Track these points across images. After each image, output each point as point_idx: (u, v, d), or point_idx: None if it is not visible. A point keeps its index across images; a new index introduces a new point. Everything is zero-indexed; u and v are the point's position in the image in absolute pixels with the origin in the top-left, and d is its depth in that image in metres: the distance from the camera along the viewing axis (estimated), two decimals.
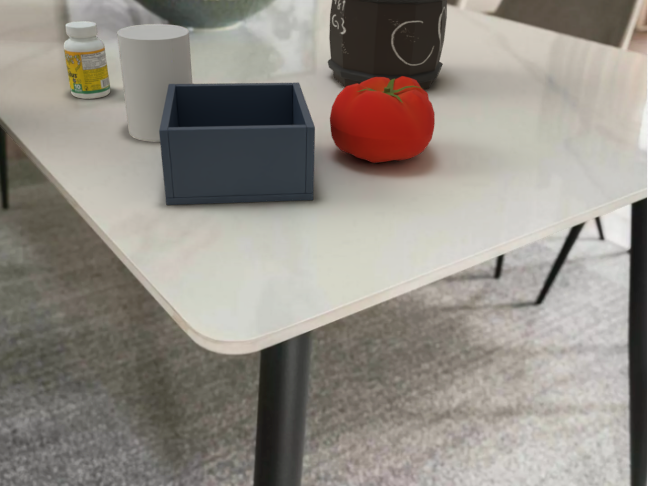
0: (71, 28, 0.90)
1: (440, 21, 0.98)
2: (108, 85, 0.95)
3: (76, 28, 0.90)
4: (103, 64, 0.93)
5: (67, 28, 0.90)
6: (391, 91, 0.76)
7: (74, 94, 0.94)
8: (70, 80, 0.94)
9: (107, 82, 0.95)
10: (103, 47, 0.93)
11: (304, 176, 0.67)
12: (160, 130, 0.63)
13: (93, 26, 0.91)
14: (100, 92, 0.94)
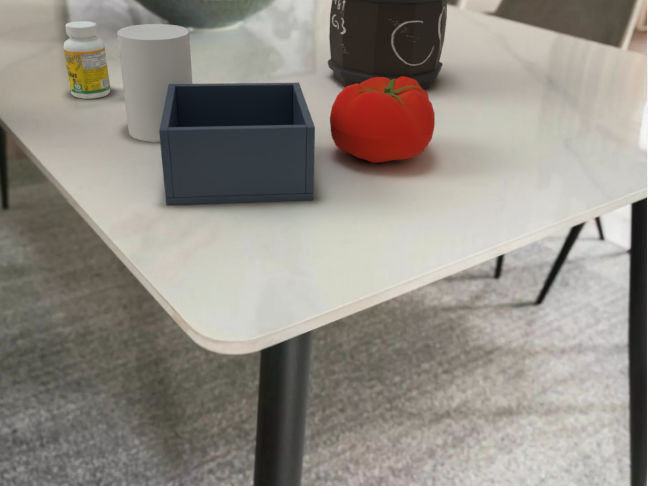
0: (71, 28, 0.90)
1: (440, 21, 0.98)
2: (108, 85, 0.95)
3: (76, 28, 0.90)
4: (103, 64, 0.93)
5: (67, 28, 0.90)
6: (391, 91, 0.76)
7: (74, 94, 0.94)
8: (70, 80, 0.94)
9: (107, 82, 0.95)
10: (103, 47, 0.93)
11: (304, 176, 0.67)
12: (160, 130, 0.63)
13: (93, 26, 0.91)
14: (100, 92, 0.94)
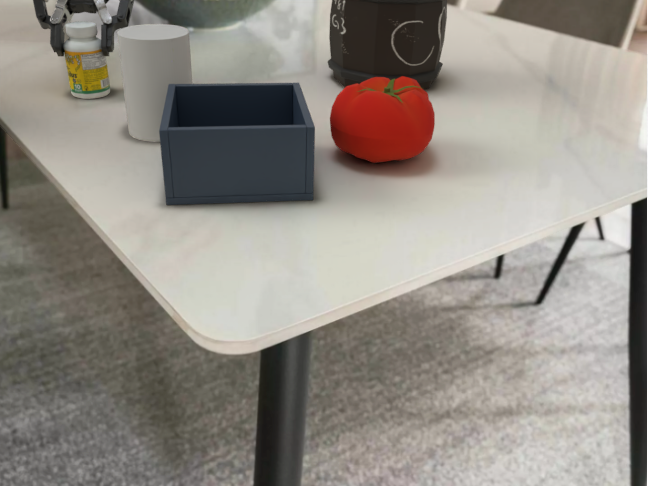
0: (71, 28, 0.90)
1: (440, 21, 0.98)
2: (108, 85, 0.95)
3: (76, 28, 0.90)
4: (103, 64, 0.93)
5: (67, 28, 0.90)
6: (391, 91, 0.76)
7: (74, 94, 0.94)
8: (70, 80, 0.94)
9: (107, 82, 0.95)
10: None
11: (304, 176, 0.67)
12: (160, 130, 0.63)
13: (93, 26, 0.91)
14: (100, 92, 0.94)
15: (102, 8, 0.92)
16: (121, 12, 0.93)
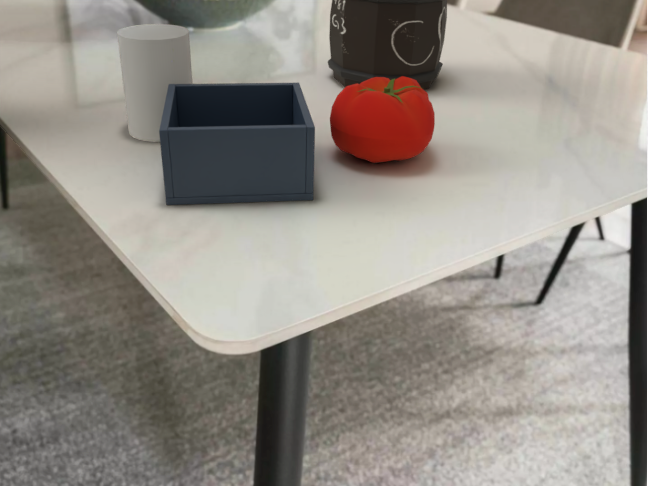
0: None
1: (440, 21, 0.98)
2: None
3: None
4: None
5: None
6: (391, 91, 0.76)
7: None
8: None
9: None
10: None
11: (304, 176, 0.67)
12: (160, 130, 0.63)
13: None
14: None
15: None
16: None
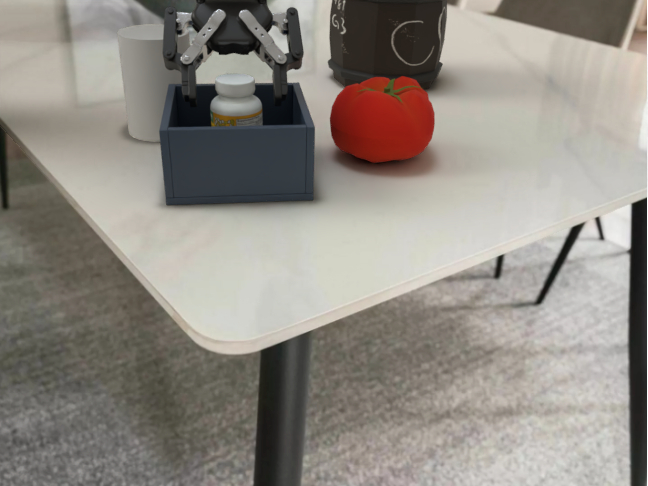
0: (226, 85, 0.68)
1: (440, 21, 0.98)
2: None
3: (232, 85, 0.67)
4: None
5: (219, 85, 0.68)
6: (391, 91, 0.76)
7: None
8: None
9: None
10: (261, 108, 0.70)
11: (304, 176, 0.67)
12: (160, 130, 0.63)
13: (252, 81, 0.69)
14: None
15: (270, 45, 0.69)
16: (296, 49, 0.70)
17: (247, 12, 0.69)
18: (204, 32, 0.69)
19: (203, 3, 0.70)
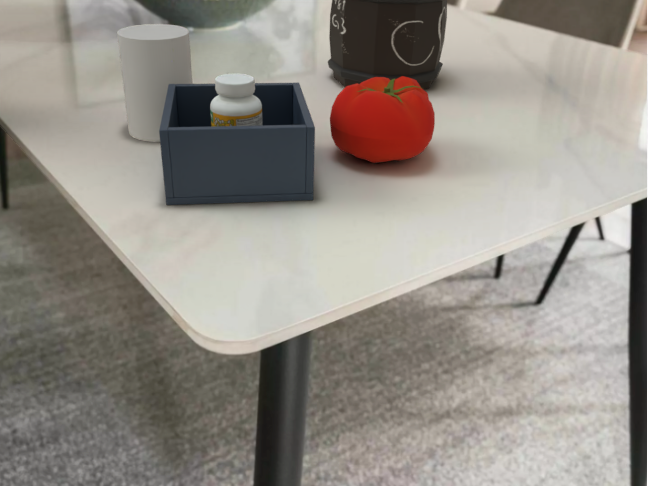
0: (225, 85, 0.68)
1: (440, 21, 0.98)
2: None
3: (232, 85, 0.67)
4: None
5: (219, 85, 0.68)
6: (391, 91, 0.76)
7: None
8: None
9: None
10: (261, 108, 0.70)
11: (304, 176, 0.67)
12: (160, 130, 0.63)
13: (252, 81, 0.69)
14: None
15: None
16: None
17: None
18: None
19: None
